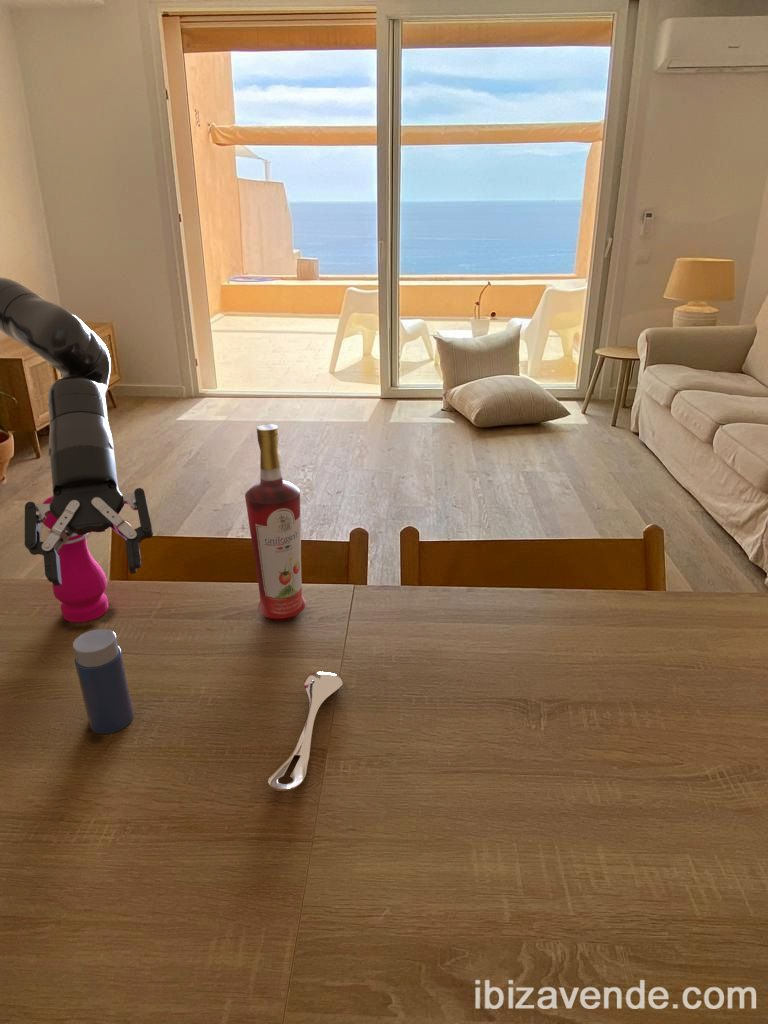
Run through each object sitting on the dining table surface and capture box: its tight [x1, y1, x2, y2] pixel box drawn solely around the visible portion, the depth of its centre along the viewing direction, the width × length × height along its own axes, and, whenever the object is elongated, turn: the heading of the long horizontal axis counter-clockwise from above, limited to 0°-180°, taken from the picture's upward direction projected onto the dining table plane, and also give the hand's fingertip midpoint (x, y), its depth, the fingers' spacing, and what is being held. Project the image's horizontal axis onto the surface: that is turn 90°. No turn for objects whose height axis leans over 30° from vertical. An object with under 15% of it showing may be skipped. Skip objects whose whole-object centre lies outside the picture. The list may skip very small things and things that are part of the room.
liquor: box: [244, 423, 307, 623], centre depth 95 cm, size 7×7×28 cm
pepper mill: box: [41, 488, 109, 623], centre depth 98 cm, size 7×7×20 cm
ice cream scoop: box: [267, 670, 345, 792], centre depth 77 cm, size 20×4×5 cm
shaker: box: [72, 628, 134, 735], centre depth 78 cm, size 5×5×11 cm
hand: (95, 577), depth 83 cm, fingers open, 8 cm apart
